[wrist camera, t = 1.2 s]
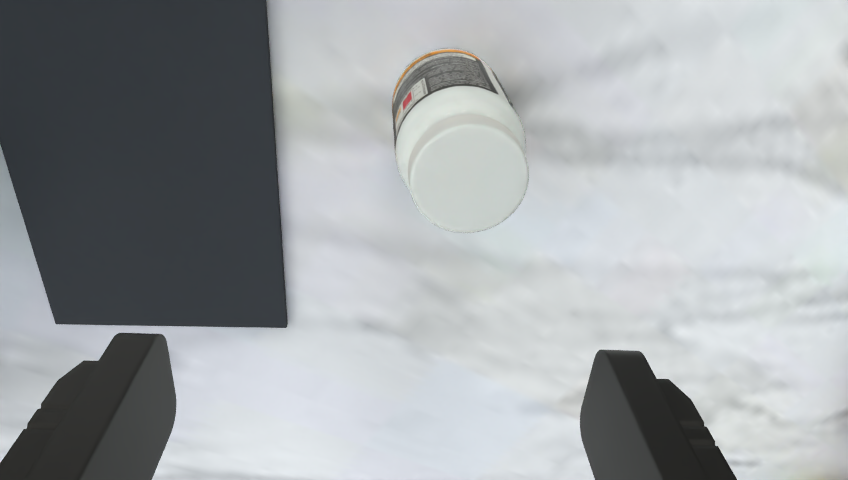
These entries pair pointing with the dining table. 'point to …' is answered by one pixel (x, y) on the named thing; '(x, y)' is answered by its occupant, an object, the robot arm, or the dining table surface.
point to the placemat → (145, 158)
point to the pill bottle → (458, 141)
